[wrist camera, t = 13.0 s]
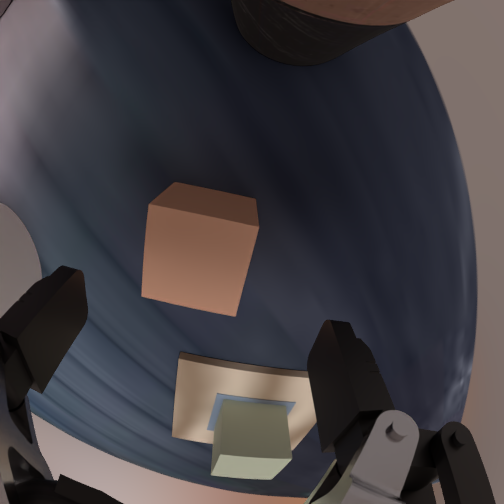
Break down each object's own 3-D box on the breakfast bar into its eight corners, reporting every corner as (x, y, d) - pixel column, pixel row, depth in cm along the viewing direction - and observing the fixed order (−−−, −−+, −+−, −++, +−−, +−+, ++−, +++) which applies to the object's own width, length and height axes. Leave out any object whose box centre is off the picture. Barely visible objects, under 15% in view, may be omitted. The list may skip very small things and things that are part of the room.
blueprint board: (173, 431, 28) (172, 437, 27) (180, 351, 22) (178, 359, 21) (292, 444, 30) (292, 450, 29) (345, 374, 24) (347, 381, 23)
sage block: (214, 427, 26) (210, 475, 21) (223, 398, 24) (220, 454, 18) (268, 433, 27) (271, 479, 21) (286, 405, 24) (292, 458, 19)
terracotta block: (164, 254, 19) (141, 296, 14) (174, 181, 16) (148, 204, 12) (237, 270, 19) (235, 316, 15) (255, 198, 17) (259, 227, 13)
